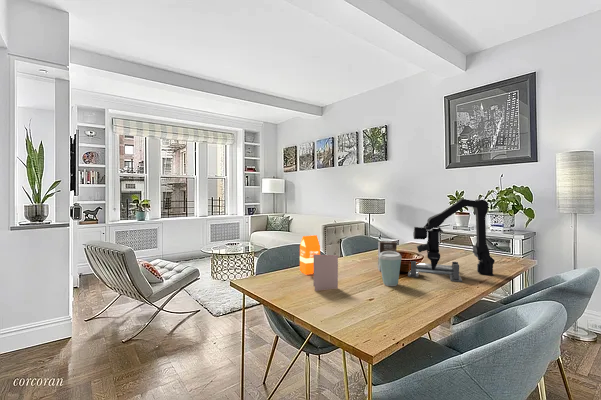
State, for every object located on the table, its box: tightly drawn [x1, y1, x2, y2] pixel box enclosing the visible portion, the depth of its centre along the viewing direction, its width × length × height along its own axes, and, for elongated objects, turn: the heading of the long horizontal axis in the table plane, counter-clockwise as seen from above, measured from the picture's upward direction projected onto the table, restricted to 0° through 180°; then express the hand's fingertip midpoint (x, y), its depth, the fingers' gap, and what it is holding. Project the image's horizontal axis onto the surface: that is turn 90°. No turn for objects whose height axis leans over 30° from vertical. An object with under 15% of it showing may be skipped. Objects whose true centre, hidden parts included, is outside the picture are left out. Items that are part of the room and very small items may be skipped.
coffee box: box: [377, 240, 398, 272], centre depth 171 cm, size 9×6×16 cm
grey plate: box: [416, 268, 452, 276], centre depth 169 cm, size 24×11×1 cm, turn 68°
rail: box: [416, 262, 452, 271], centre depth 170 cm, size 24×3×3 cm, turn 68°
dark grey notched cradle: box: [407, 260, 463, 283], centre depth 157 cm, size 25×9×8 cm, turn 68°
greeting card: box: [313, 254, 339, 292], centre depth 138 cm, size 11×7×15 cm, turn 74°
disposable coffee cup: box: [377, 251, 403, 287], centre depth 145 cm, size 11×11×15 cm
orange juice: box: [299, 234, 321, 275], centre depth 167 cm, size 8×9×20 cm
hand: (433, 267), depth 169 cm, fingers open, 9 cm apart
